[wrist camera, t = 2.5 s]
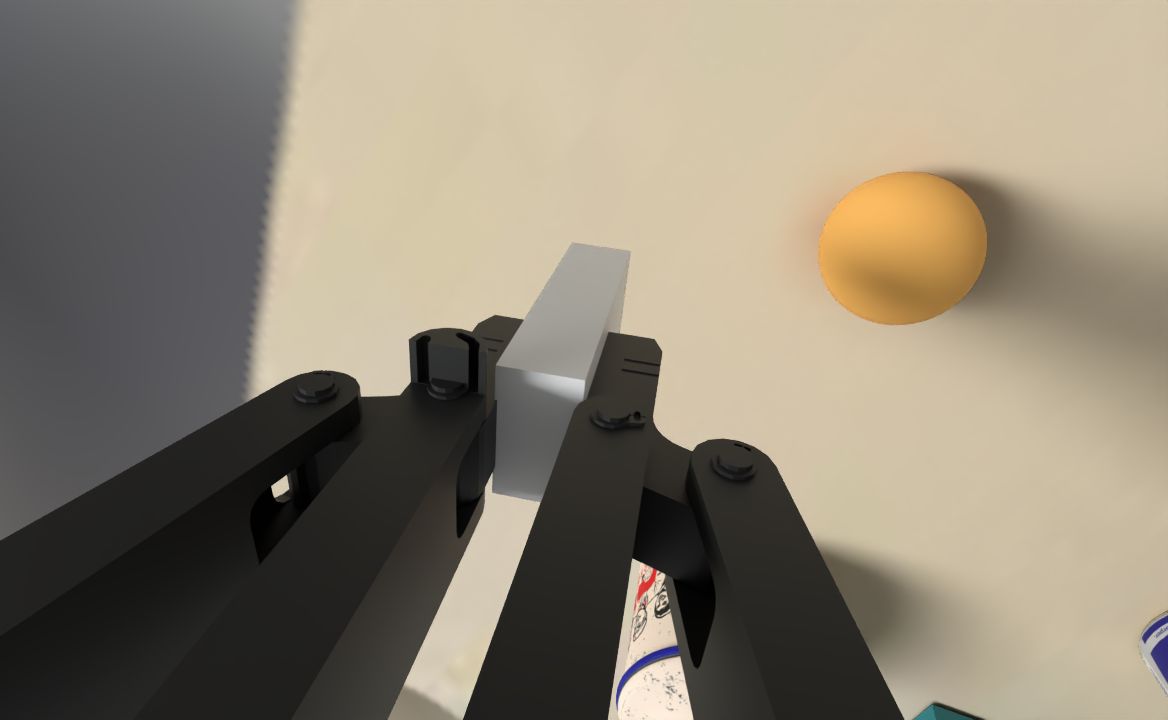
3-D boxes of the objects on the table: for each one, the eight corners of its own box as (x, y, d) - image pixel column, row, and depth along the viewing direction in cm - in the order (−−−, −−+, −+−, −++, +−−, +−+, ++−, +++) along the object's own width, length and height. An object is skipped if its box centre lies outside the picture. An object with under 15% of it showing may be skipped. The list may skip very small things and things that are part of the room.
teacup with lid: (672, 488, 34) (652, 688, 23) (831, 550, 33) (881, 777, 23) (599, 623, 40) (558, 829, 29) (734, 676, 39) (740, 901, 29)
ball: (979, 168, 24) (1045, 204, 19) (928, 301, 26) (974, 362, 22) (830, 149, 24) (858, 180, 20) (795, 281, 27) (811, 336, 22)
